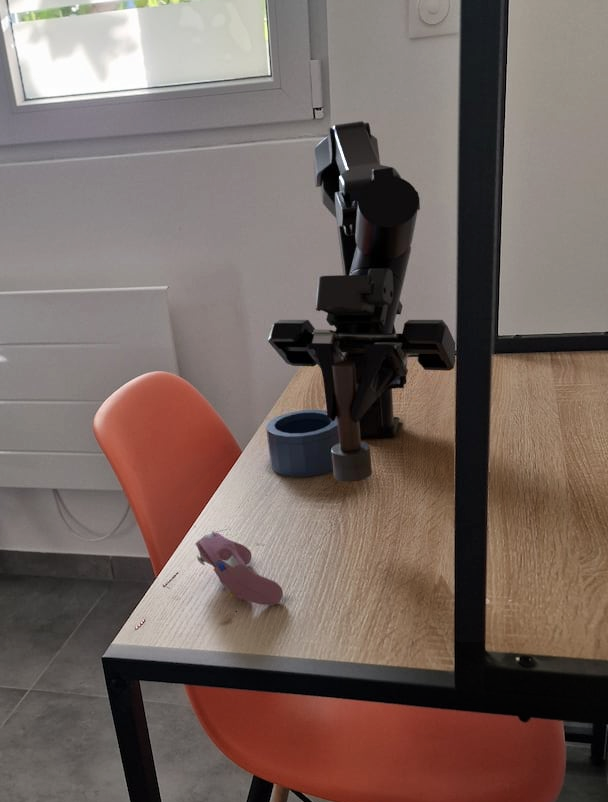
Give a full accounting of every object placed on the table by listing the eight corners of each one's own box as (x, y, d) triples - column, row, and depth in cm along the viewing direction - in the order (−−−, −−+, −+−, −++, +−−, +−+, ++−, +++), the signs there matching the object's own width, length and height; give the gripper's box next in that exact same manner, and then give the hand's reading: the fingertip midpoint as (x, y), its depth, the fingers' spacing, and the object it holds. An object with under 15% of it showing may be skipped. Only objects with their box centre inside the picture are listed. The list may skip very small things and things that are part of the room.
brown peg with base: (337, 466, 89) (327, 358, 83) (374, 466, 87) (366, 356, 82) (330, 482, 85) (319, 370, 80) (368, 482, 84) (360, 369, 79)
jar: (281, 448, 113) (276, 410, 110) (349, 447, 110) (346, 408, 107) (263, 477, 104) (258, 437, 102) (336, 477, 102) (332, 435, 99)
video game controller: (218, 582, 85) (179, 537, 82) (252, 554, 85) (215, 508, 82) (252, 629, 77) (210, 582, 73) (290, 598, 77) (250, 549, 73)
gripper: (265, 242, 84) (226, 380, 80) (444, 233, 75) (410, 388, 71) (305, 300, 93) (272, 426, 90) (470, 298, 84) (440, 438, 80)
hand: (342, 420), depth 82 cm, fingers closed on brown peg with base, 2 cm apart
